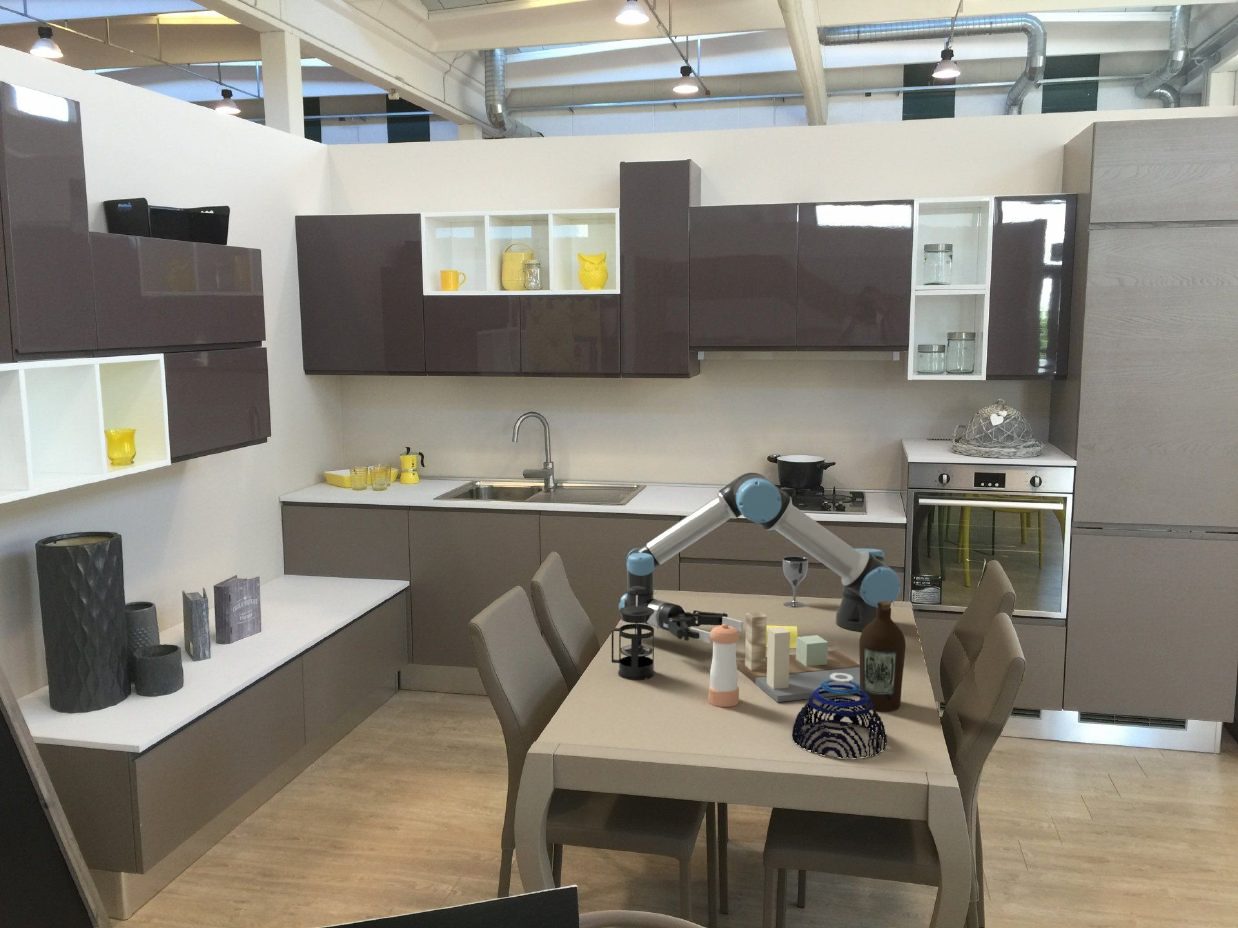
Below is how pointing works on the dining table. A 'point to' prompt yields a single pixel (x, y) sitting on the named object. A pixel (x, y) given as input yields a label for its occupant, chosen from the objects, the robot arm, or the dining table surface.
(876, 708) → the olive oil
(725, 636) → the pepper shaker
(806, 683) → the gray board with post
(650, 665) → the french press
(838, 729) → the blue ringed dome
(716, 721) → the dining table surface
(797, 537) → the robot arm
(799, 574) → the wine glass
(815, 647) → the sage block
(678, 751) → the dining table surface
